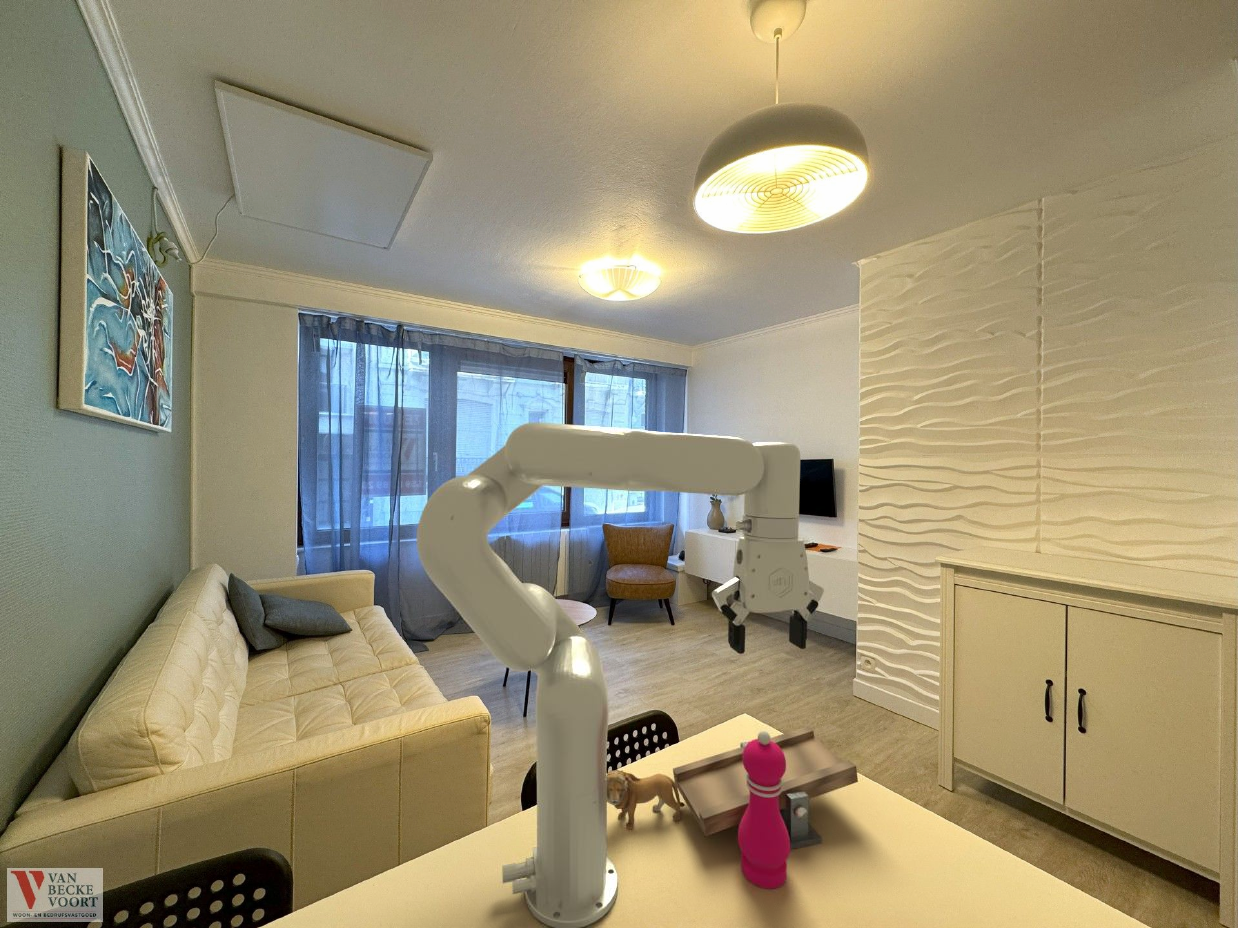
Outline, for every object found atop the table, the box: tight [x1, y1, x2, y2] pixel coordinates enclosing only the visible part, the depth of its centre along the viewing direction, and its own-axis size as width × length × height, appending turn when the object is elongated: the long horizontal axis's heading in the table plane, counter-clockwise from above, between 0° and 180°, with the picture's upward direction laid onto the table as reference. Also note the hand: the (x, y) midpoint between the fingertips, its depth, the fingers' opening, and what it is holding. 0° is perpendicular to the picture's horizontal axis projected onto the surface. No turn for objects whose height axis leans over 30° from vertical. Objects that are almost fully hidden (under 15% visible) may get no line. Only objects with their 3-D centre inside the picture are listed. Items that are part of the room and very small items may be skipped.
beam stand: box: [739, 741, 823, 851], centre depth 85 cm, size 7×17×7 cm, turn 15°
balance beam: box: [672, 726, 859, 837], centre depth 85 cm, size 27×13×3 cm, turn 105°
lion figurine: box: [607, 769, 686, 831], centre depth 83 cm, size 15×5×9 cm, turn 112°
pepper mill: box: [737, 730, 791, 890], centre depth 72 cm, size 7×7×20 cm
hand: (767, 647), depth 73 cm, fingers open, 9 cm apart
